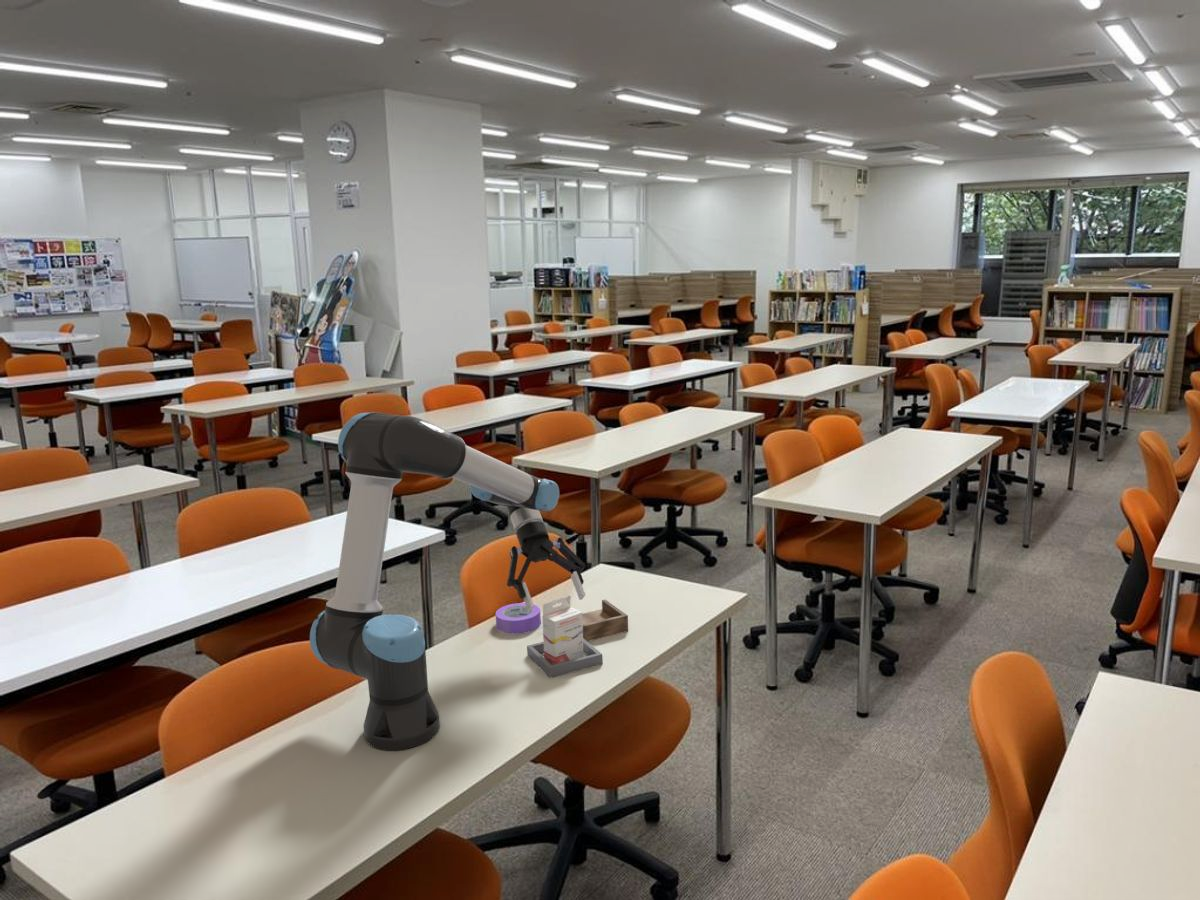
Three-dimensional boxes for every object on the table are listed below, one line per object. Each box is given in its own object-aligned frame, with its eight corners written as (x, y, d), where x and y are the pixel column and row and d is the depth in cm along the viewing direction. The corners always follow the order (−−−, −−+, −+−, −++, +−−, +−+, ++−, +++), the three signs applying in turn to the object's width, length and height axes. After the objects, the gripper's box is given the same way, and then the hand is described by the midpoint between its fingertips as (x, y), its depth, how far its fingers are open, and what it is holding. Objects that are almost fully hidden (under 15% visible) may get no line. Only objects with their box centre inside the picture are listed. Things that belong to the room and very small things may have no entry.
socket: (550, 678, 197) (549, 668, 196) (527, 655, 209) (526, 645, 208) (602, 664, 203) (602, 654, 202) (577, 642, 214) (577, 633, 214)
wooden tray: (580, 643, 214) (579, 627, 213) (558, 623, 226) (557, 608, 225) (628, 631, 220) (627, 615, 219) (604, 612, 232) (603, 598, 231)
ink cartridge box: (556, 669, 201) (553, 609, 198) (543, 662, 205) (540, 603, 202) (585, 657, 206) (582, 599, 203) (572, 650, 210) (569, 594, 207)
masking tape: (488, 631, 223) (487, 617, 222) (507, 614, 234) (506, 600, 233) (530, 636, 220) (529, 622, 219) (547, 618, 230) (547, 604, 229)
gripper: (570, 526, 226) (598, 599, 216) (479, 543, 215) (505, 620, 205) (578, 511, 220) (607, 585, 211) (485, 528, 209) (512, 607, 200)
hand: (557, 603), depth 208 cm, fingers open, 13 cm apart
